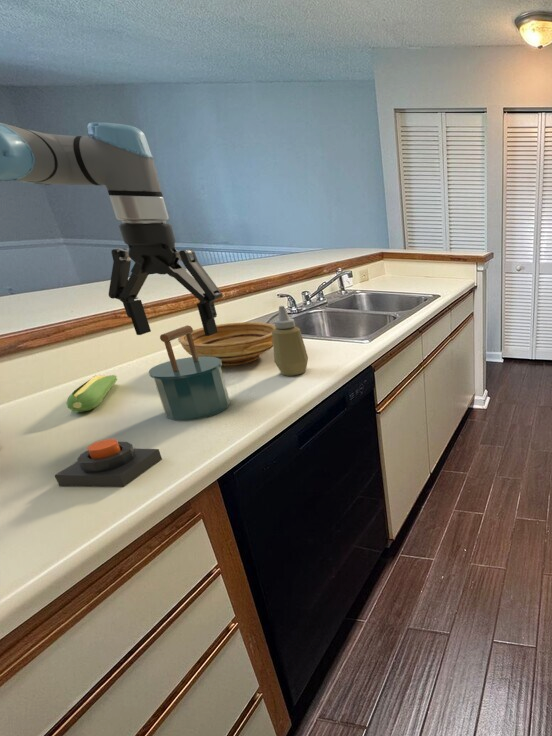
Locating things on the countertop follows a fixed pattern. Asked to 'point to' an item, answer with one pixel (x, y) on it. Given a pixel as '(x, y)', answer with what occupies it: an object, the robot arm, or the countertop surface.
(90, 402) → the edible corn
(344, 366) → the countertop surface
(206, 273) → the robot arm
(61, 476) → the block
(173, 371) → the lid
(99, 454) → the button
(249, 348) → the wooden bowl
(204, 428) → the countertop surface
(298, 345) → the squeeze bottle
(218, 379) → the jar
